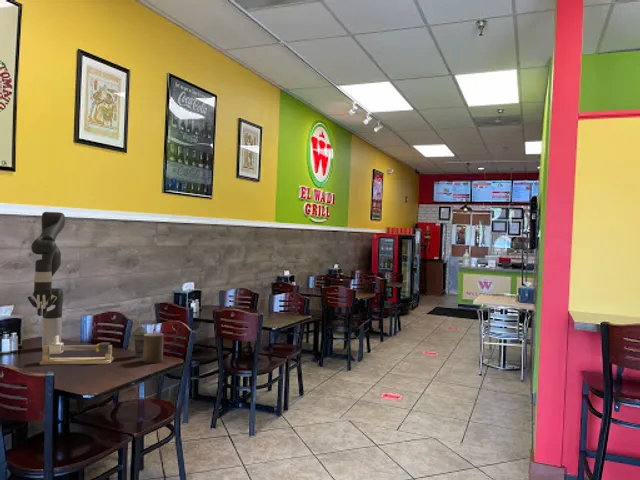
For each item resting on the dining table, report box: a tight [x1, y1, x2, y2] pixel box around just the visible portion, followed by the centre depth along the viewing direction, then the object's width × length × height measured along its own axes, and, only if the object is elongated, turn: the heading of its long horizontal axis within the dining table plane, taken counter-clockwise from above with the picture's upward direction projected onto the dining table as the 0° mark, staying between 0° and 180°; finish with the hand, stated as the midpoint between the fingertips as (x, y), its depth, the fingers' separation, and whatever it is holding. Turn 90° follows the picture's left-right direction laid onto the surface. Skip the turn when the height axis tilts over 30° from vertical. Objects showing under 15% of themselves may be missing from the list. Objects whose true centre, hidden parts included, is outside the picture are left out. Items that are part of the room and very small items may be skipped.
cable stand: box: [39, 341, 114, 365], centre depth 243 cm, size 8×32×9 cm, turn 101°
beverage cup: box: [133, 318, 148, 358], centre depth 258 cm, size 7×7×20 cm
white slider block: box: [49, 336, 64, 355], centre depth 241 cm, size 5×5×8 cm
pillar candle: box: [142, 332, 164, 364], centre depth 249 cm, size 10×10×15 cm
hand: (42, 315), depth 240 cm, fingers closed
